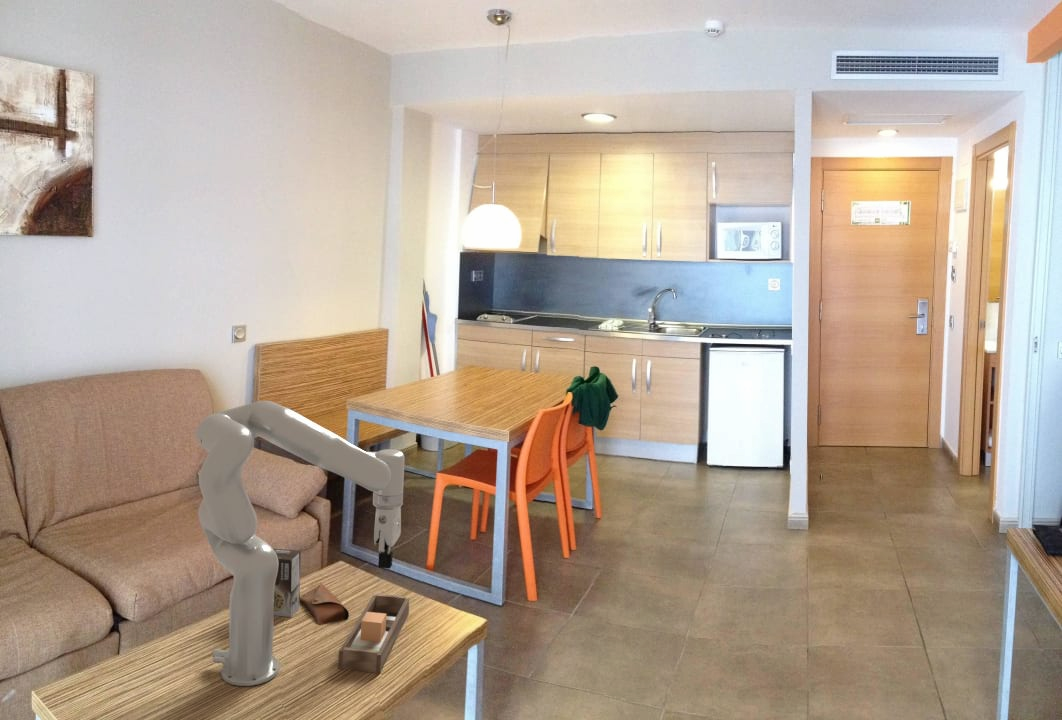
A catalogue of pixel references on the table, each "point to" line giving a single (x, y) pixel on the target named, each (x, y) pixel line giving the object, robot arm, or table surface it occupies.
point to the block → (373, 626)
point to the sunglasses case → (324, 605)
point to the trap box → (374, 653)
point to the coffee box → (287, 583)
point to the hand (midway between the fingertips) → (385, 566)
